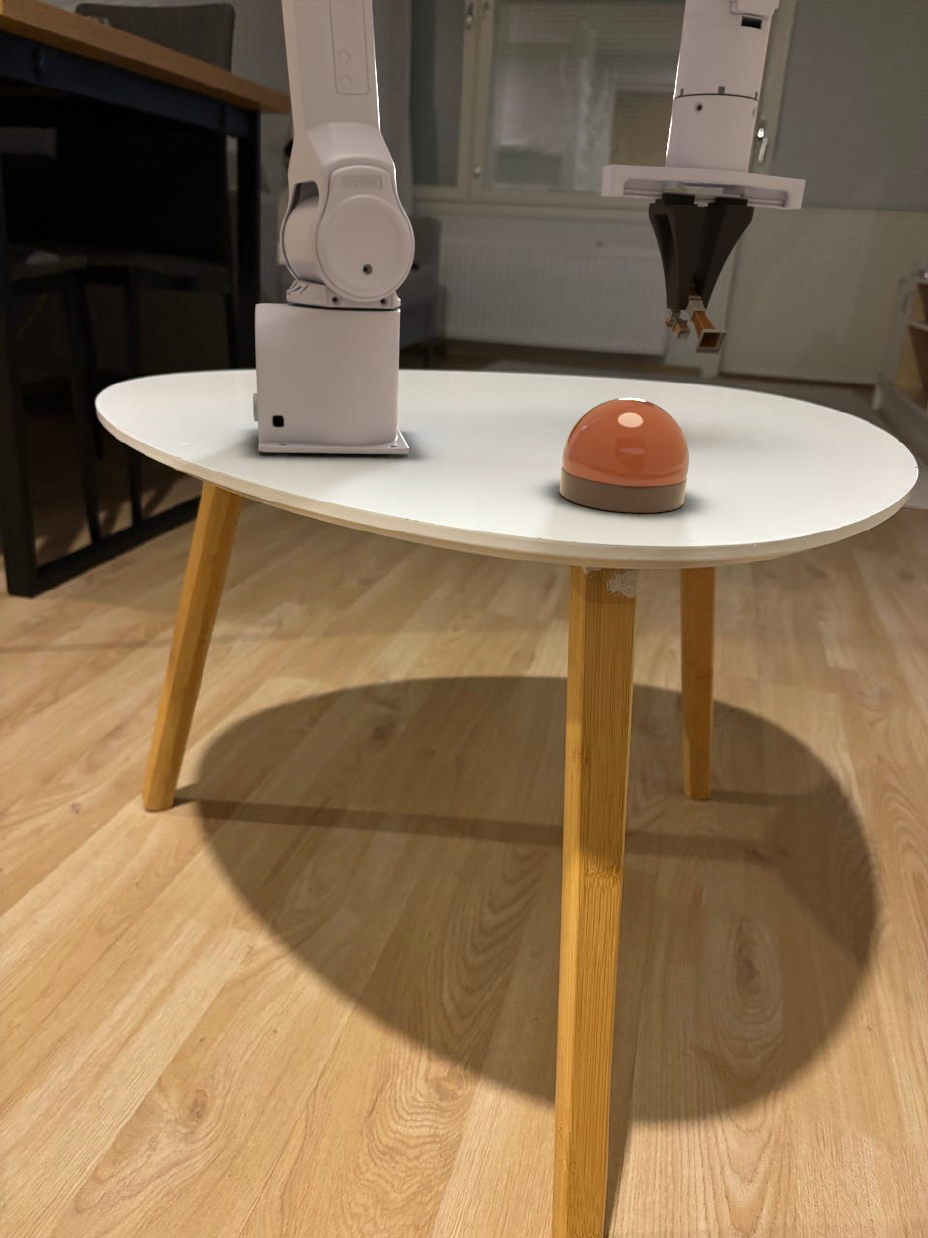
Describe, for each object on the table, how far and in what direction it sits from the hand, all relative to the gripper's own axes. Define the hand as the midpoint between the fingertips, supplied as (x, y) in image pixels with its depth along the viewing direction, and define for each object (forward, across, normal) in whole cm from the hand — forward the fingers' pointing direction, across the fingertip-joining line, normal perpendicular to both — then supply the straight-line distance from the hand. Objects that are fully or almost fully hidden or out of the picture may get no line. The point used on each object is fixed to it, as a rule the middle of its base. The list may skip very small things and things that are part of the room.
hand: (686, 309), depth 68 cm
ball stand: (+11, +11, +19) cm, 24 cm away
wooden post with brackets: (+2, 0, +1) cm, 3 cm away
